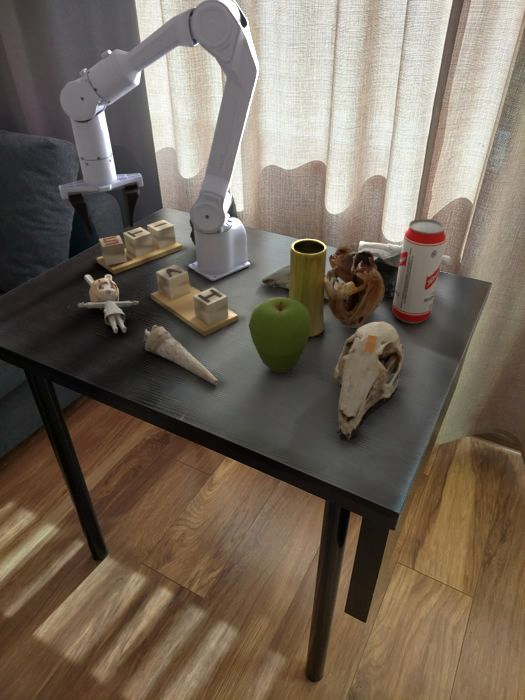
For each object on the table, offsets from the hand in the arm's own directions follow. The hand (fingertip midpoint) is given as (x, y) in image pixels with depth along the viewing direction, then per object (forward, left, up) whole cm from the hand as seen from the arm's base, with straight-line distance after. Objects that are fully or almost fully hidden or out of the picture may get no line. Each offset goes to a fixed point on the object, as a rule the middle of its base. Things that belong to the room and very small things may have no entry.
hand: (110, 228), depth 99 cm
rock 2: (-28, +42, -6) cm, 51 cm away
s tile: (0, -1, -7) cm, 7 cm away
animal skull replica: (-4, +58, -8) cm, 59 cm away
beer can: (-27, +50, -8) cm, 58 cm away
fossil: (-21, +32, -8) cm, 40 cm away
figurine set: (-14, +54, -8) cm, 57 cm away
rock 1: (-19, +6, -8) cm, 22 cm away
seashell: (+8, +34, -8) cm, 36 cm away
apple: (-1, +45, -8) cm, 46 cm away
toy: (+10, +14, -8) cm, 19 cm away
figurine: (-36, +31, -5) cm, 48 cm away
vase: (-12, +41, -8) cm, 43 cm away
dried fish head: (-20, +36, -7) cm, 42 cm away
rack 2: (-1, +23, -8) cm, 25 cm away
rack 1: (-5, -1, -8) cm, 10 cm away
